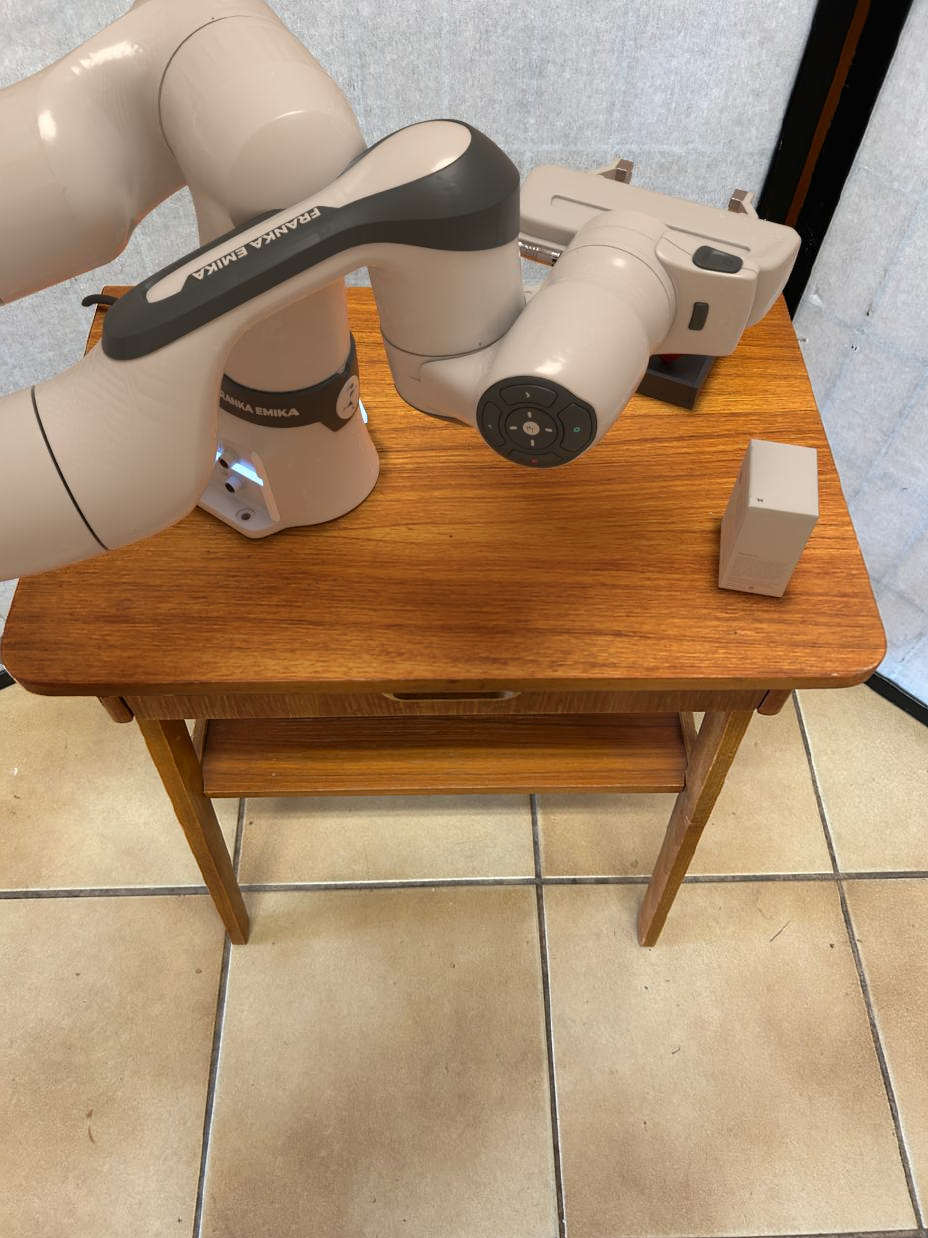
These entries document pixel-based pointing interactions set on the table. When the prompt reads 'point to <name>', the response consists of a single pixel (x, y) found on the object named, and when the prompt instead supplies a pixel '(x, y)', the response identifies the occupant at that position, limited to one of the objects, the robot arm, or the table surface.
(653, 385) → the tray
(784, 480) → the small box
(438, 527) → the table surface
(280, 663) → the table surface
